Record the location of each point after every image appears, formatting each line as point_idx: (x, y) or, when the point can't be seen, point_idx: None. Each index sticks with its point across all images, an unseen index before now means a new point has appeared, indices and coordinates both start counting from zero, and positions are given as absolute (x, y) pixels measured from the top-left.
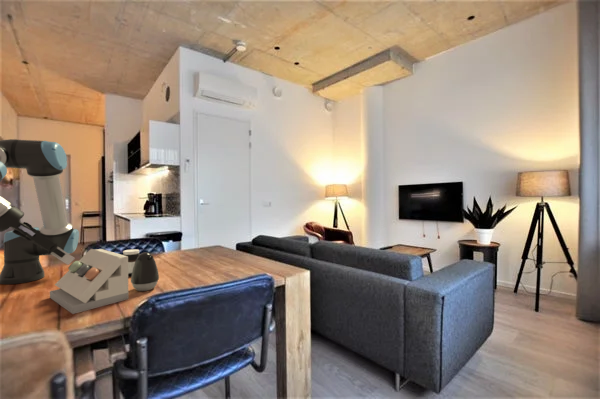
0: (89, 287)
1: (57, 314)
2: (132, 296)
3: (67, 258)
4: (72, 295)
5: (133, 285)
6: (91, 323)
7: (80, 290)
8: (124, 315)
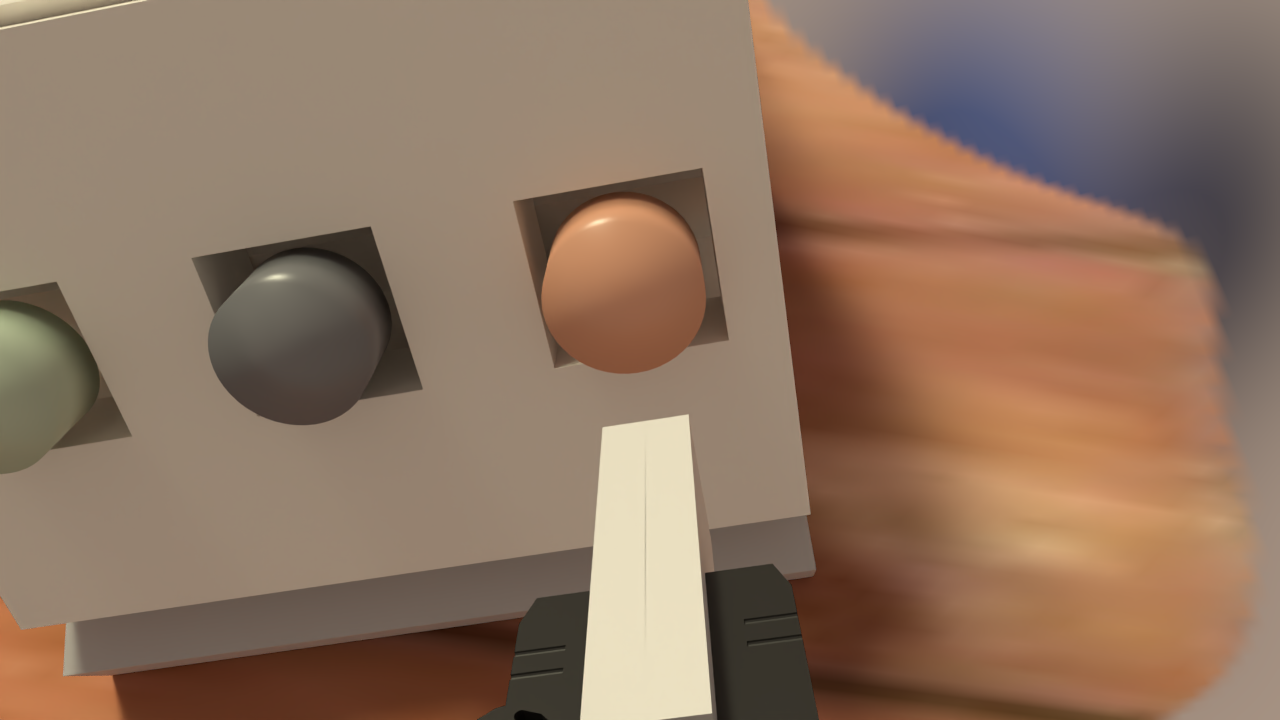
0: (793, 380)
1: None
2: None
3: (704, 536)
4: None
5: None
6: (1195, 490)
7: None
8: (1172, 244)
